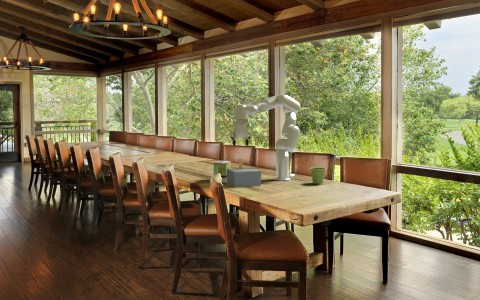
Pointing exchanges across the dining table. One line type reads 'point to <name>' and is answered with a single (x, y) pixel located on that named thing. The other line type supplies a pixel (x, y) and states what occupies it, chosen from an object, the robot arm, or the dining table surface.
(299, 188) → the dining table surface
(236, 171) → the lid flap
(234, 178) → the slate box
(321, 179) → the plant pot
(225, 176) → the tea box
